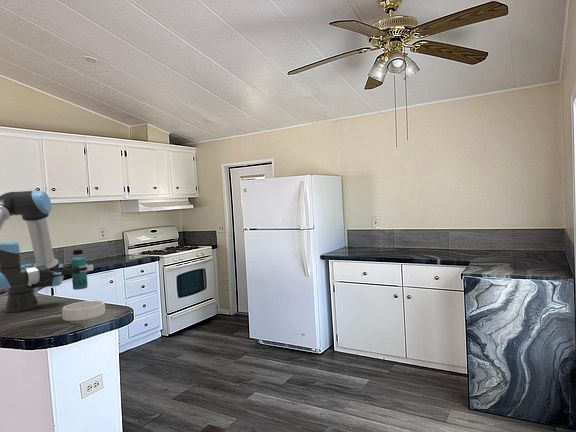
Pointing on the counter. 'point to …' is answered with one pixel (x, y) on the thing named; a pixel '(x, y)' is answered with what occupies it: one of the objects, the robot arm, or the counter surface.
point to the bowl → (83, 310)
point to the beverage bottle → (80, 279)
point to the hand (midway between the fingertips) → (90, 266)
